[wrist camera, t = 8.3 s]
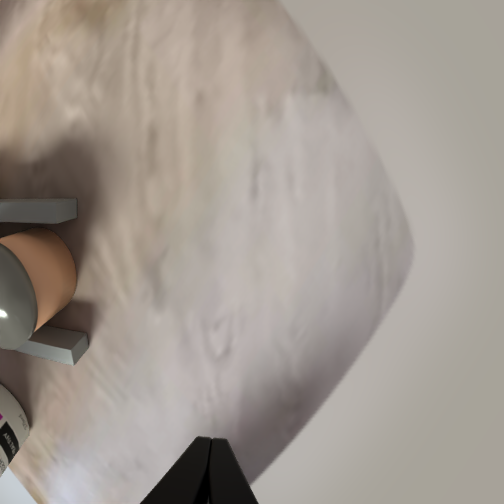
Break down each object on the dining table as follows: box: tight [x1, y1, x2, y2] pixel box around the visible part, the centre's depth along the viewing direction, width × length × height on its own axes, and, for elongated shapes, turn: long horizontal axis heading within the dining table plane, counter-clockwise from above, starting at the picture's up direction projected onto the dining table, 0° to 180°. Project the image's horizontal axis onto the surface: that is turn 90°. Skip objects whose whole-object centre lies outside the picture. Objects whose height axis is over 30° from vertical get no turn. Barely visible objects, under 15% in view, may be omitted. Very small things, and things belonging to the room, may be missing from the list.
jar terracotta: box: [0, 227, 77, 350], centre depth 16 cm, size 6×6×6 cm
